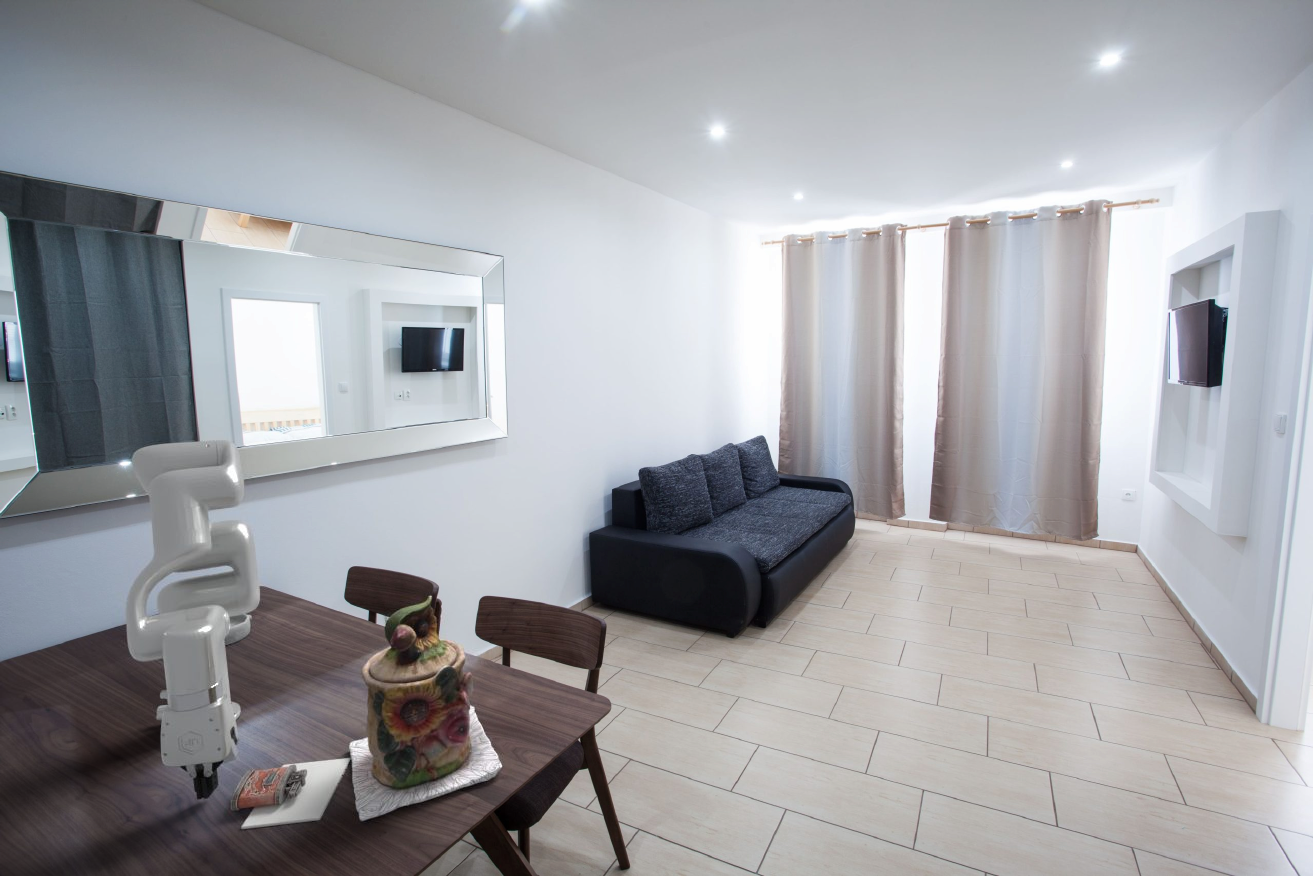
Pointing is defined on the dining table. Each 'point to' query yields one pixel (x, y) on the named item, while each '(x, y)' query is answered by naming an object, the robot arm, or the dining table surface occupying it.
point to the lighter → (268, 787)
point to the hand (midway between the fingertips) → (207, 793)
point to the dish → (238, 628)
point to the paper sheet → (302, 796)
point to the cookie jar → (417, 720)
